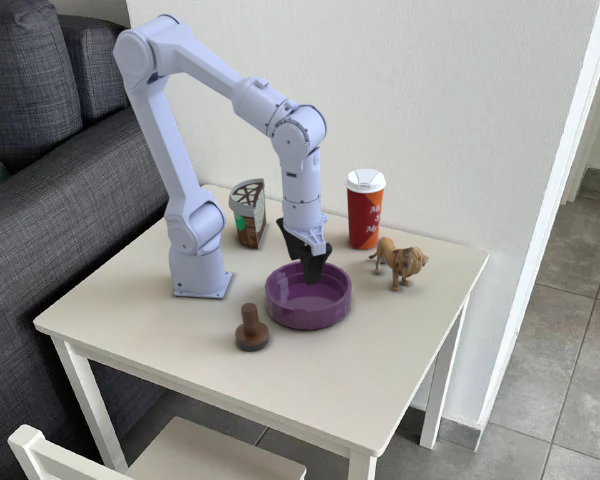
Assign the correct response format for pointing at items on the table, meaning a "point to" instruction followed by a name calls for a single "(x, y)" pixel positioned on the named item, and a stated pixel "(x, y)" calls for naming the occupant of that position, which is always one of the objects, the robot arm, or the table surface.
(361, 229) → the paper cup
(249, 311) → the brown stamp
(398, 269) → the lion figurine
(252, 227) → the food container
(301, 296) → the bowl
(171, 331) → the table surface
